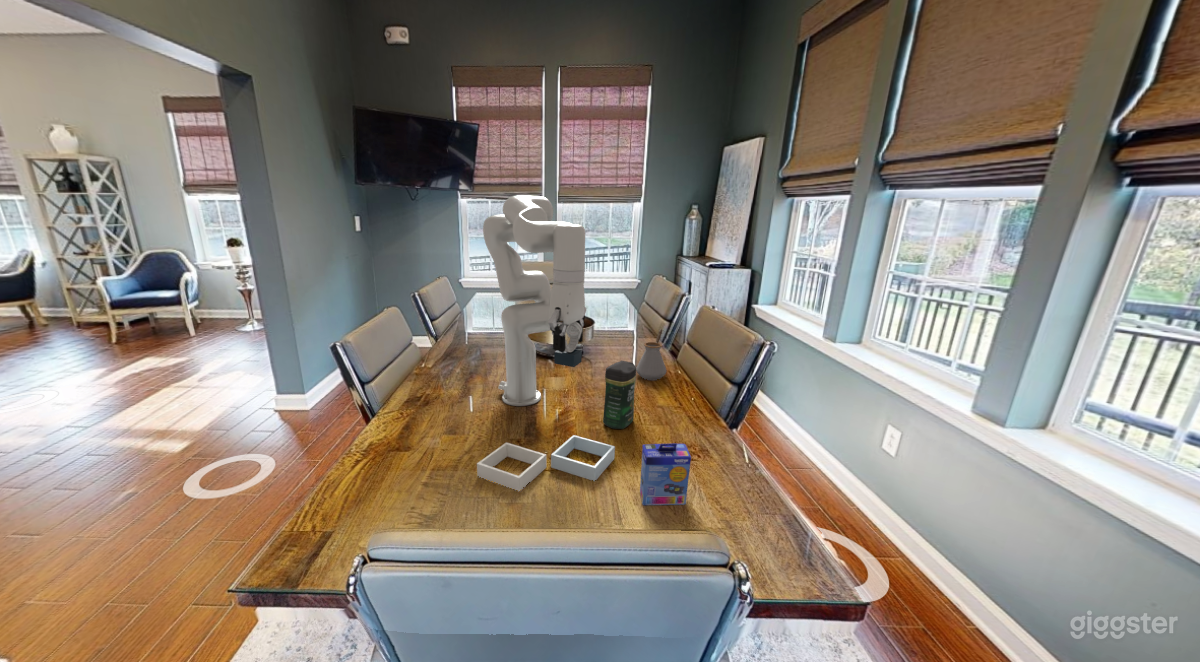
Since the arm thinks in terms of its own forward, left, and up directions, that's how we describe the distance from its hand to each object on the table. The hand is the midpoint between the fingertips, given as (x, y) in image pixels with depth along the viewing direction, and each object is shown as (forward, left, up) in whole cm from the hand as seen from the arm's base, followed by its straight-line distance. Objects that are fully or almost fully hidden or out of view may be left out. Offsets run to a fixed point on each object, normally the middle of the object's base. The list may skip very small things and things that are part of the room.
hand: (568, 345), depth 112 cm
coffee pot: (+2, +63, -28) cm, 69 cm away
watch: (0, 0, -5) cm, 5 cm away
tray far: (+8, -6, -28) cm, 30 cm away
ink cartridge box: (+30, -10, -28) cm, 42 cm away
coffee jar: (+7, +18, -28) cm, 34 cm away
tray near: (-5, -18, -28) cm, 33 cm away
